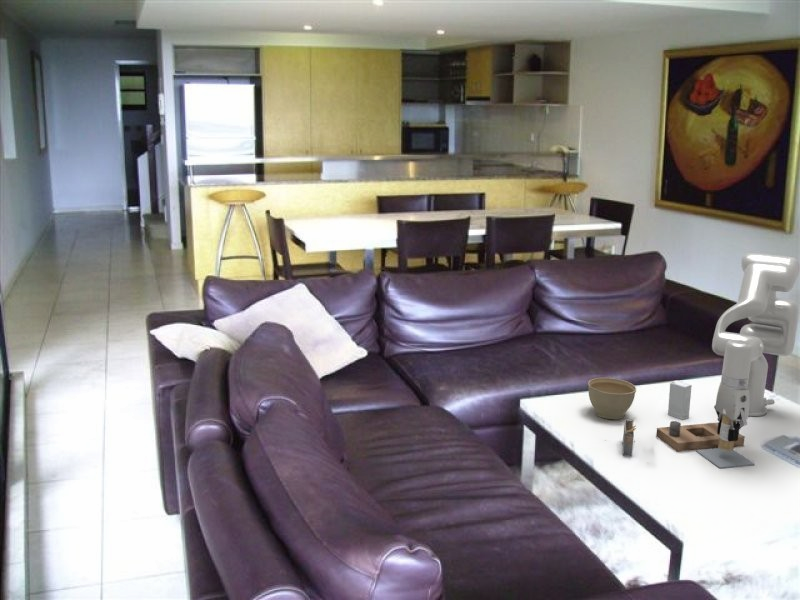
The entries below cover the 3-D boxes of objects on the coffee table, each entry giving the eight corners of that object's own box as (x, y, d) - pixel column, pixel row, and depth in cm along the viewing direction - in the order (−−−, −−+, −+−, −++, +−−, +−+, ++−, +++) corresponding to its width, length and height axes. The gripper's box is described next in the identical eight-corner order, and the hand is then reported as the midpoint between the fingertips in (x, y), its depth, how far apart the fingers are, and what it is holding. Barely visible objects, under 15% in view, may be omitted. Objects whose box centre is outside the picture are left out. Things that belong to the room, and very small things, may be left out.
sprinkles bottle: (725, 444, 246) (730, 403, 242) (737, 449, 242) (742, 408, 238) (714, 446, 244) (719, 405, 240) (726, 452, 240) (731, 411, 236)
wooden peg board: (720, 430, 264) (723, 408, 262) (743, 445, 253) (746, 422, 251) (656, 436, 258) (658, 413, 256) (677, 452, 247) (679, 428, 245)
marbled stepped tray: (633, 457, 244) (636, 428, 241) (622, 456, 244) (625, 427, 242) (632, 442, 254) (635, 414, 252) (622, 441, 255) (625, 413, 253)
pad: (729, 448, 251) (729, 446, 250) (754, 465, 239) (754, 463, 239) (695, 451, 248) (696, 450, 248) (719, 468, 236) (719, 467, 236)
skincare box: (689, 417, 275) (693, 384, 272) (682, 420, 272) (686, 387, 269) (673, 411, 279) (677, 379, 276) (666, 414, 277) (669, 382, 274)
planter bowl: (626, 427, 265) (629, 397, 262) (579, 417, 273) (582, 387, 270) (638, 411, 279) (641, 382, 276) (593, 402, 286) (595, 374, 284)
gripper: (764, 390, 230) (756, 447, 235) (727, 371, 246) (720, 425, 251) (742, 391, 228) (734, 450, 233) (706, 372, 244) (700, 427, 249)
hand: (727, 436), depth 242 cm, fingers closed on sprinkles bottle, 4 cm apart
